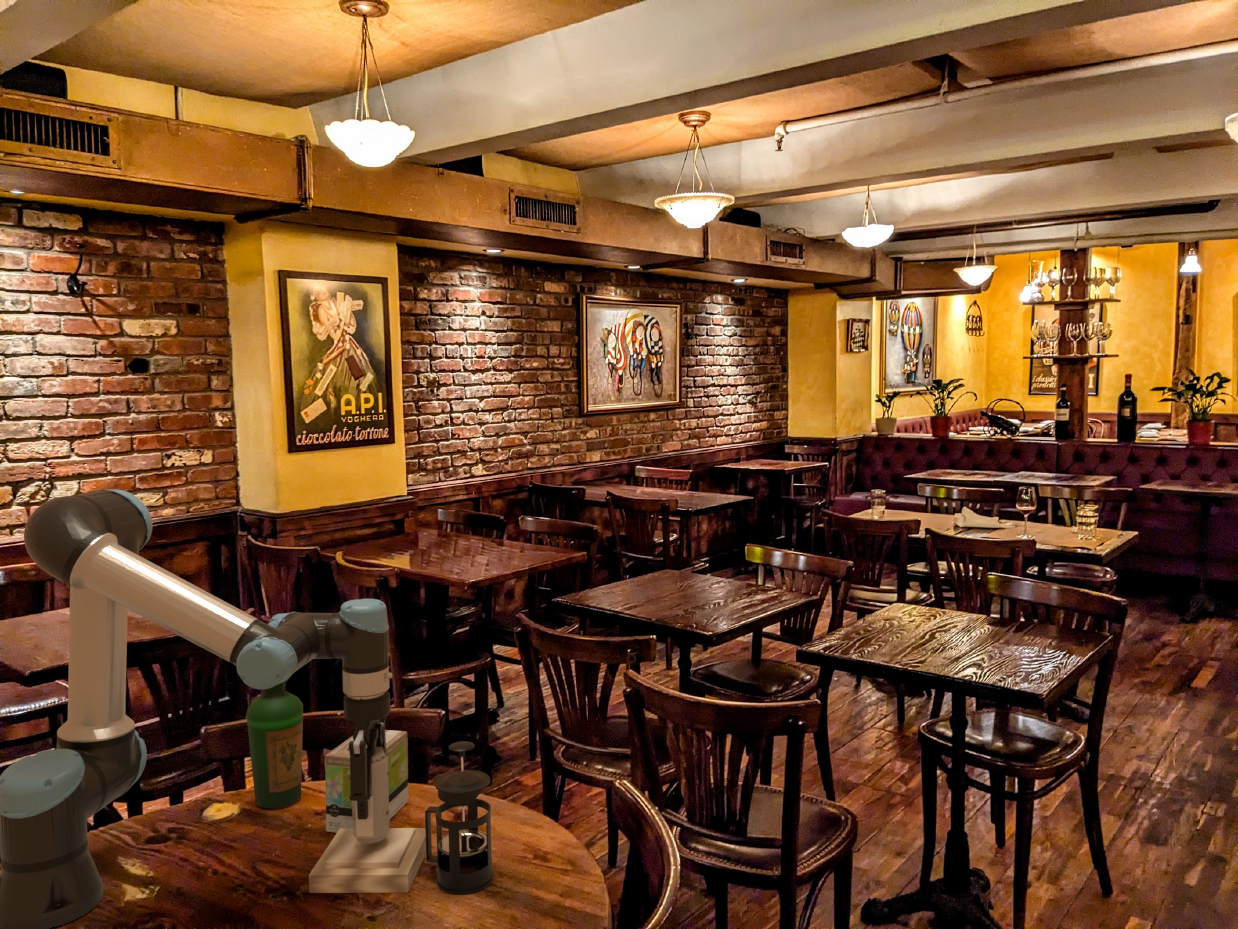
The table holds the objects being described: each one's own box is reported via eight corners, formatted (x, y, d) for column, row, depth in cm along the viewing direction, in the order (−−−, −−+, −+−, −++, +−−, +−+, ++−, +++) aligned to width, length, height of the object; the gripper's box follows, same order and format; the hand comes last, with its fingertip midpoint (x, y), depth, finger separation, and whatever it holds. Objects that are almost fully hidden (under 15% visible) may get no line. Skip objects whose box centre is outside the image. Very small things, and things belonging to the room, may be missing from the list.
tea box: (375, 838, 168) (372, 758, 167) (324, 833, 170) (321, 755, 169) (410, 802, 183) (408, 729, 182) (363, 798, 185) (360, 726, 184)
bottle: (296, 813, 178) (291, 670, 176) (241, 813, 178) (234, 671, 176) (314, 789, 189) (309, 654, 187) (262, 790, 189) (256, 655, 187)
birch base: (309, 892, 149) (308, 869, 149) (340, 844, 165) (339, 823, 165) (408, 892, 149) (407, 868, 149) (429, 844, 165) (429, 822, 165)
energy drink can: (396, 836, 157) (394, 750, 156) (364, 848, 153) (361, 760, 152) (378, 824, 161) (375, 741, 160) (346, 836, 157) (343, 750, 156)
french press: (504, 868, 157) (502, 735, 155) (486, 898, 147) (483, 757, 146) (439, 862, 159) (435, 731, 157) (417, 891, 150) (413, 752, 148)
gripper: (373, 711, 145) (377, 853, 147) (403, 675, 164) (406, 801, 166) (325, 712, 146) (330, 853, 147) (361, 675, 165) (364, 801, 166)
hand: (370, 825), depth 157 cm, fingers closed on energy drink can, 6 cm apart
